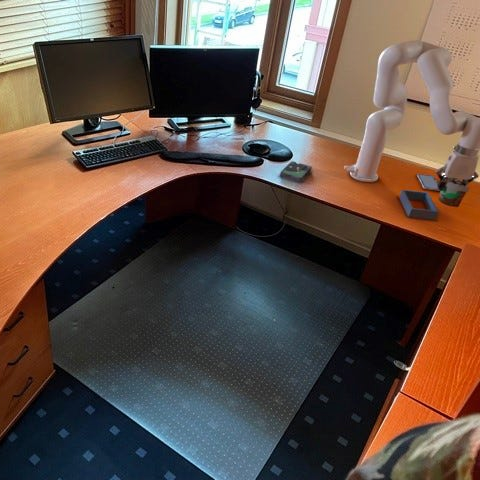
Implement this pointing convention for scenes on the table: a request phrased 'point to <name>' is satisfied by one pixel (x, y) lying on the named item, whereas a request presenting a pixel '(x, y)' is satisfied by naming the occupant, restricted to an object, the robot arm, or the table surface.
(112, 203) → the table surface
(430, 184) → the smartphone
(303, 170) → the disk drive
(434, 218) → the rectangular frame
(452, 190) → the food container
